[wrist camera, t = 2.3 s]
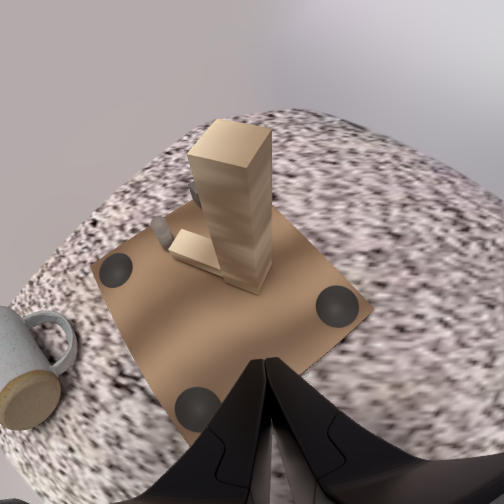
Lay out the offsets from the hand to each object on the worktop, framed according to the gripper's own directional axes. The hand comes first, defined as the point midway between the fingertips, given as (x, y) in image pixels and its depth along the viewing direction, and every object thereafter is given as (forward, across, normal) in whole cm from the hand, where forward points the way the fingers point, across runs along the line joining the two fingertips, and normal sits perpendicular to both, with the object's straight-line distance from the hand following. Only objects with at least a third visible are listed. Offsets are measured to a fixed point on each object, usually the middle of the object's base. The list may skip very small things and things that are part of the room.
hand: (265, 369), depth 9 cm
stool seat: (+14, +3, +3) cm, 15 cm away
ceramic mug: (+10, +20, +7) cm, 23 cm away
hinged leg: (+14, +2, 0) cm, 14 cm away
